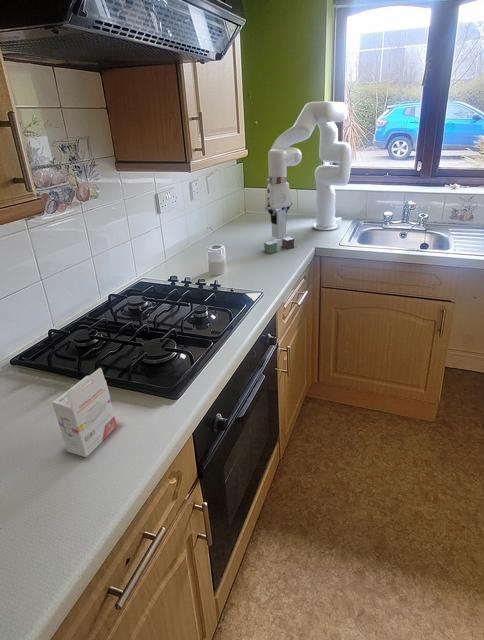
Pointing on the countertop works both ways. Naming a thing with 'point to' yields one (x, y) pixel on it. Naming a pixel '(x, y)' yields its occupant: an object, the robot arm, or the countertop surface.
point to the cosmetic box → (279, 225)
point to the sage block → (270, 247)
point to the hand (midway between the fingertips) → (278, 222)
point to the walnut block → (288, 243)
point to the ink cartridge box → (85, 414)
